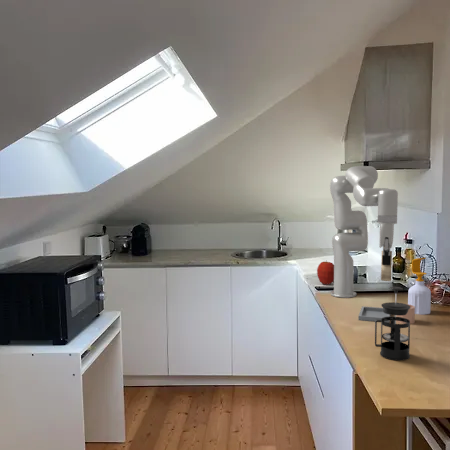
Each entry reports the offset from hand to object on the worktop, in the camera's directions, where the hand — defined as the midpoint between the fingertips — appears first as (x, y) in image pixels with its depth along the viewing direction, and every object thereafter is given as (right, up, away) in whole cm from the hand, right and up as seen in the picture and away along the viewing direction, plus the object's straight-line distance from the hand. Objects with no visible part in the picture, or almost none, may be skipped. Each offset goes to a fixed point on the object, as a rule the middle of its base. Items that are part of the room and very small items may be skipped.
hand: (386, 263), depth 200 cm
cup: (+7, -24, -3) cm, 25 cm away
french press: (-10, -28, -38) cm, 48 cm away
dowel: (0, -7, +1) cm, 7 cm away
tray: (-3, -23, +5) cm, 24 cm away
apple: (-10, -17, +71) cm, 74 cm away
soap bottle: (+18, -23, +11) cm, 31 cm away
